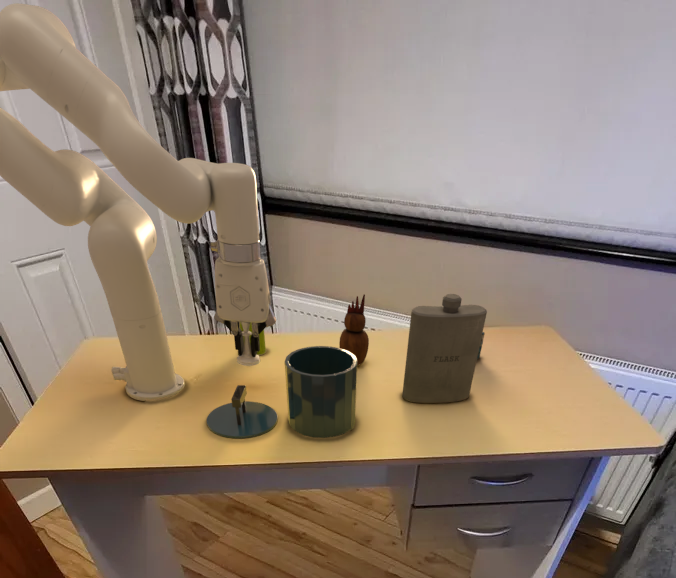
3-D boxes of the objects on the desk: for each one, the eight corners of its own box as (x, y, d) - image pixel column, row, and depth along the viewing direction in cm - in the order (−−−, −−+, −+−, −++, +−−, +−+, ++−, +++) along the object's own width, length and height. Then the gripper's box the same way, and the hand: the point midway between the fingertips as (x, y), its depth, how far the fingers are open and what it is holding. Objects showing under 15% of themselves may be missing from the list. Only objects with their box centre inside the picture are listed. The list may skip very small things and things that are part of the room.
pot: (284, 438, 99) (280, 374, 90) (293, 405, 108) (290, 344, 99) (353, 441, 99) (355, 377, 89) (356, 408, 108) (358, 347, 98)
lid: (199, 439, 98) (192, 408, 94) (216, 404, 108) (211, 374, 103) (272, 443, 98) (269, 411, 93) (282, 407, 107) (280, 377, 103)
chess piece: (232, 363, 108) (227, 311, 100) (244, 354, 111) (239, 304, 103) (253, 368, 106) (249, 316, 99) (264, 359, 110) (261, 308, 102)
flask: (405, 404, 109) (417, 302, 94) (400, 392, 113) (410, 291, 98) (472, 402, 110) (495, 300, 95) (465, 389, 114) (485, 290, 99)
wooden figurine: (371, 362, 123) (375, 293, 112) (359, 370, 120) (362, 300, 109) (347, 355, 126) (349, 287, 115) (335, 363, 123) (336, 294, 111)
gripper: (191, 253, 91) (206, 358, 105) (279, 260, 91) (283, 364, 105) (201, 243, 96) (214, 344, 110) (285, 249, 96) (288, 349, 110)
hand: (248, 353), depth 107 cm, fingers closed on chess piece
